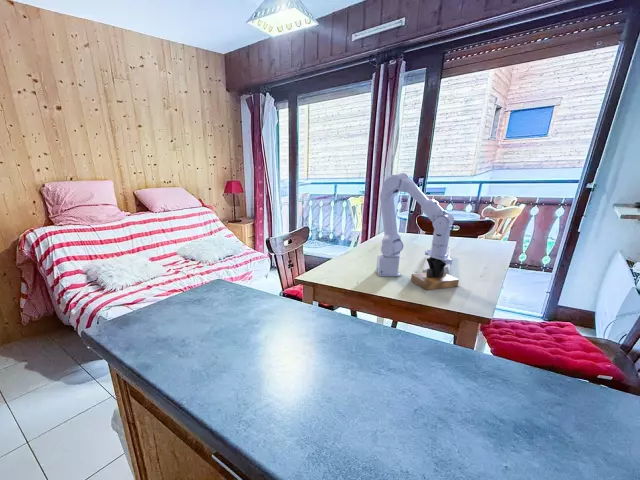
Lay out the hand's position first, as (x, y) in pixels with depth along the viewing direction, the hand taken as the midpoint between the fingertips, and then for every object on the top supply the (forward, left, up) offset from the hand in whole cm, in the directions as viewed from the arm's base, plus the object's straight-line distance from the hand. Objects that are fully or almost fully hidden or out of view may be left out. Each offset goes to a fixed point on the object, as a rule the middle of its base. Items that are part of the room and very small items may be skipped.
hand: (434, 275), depth 137 cm
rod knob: (0, 0, 0) cm, 0 cm away
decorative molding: (+10, +25, -4) cm, 27 cm away
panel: (0, 0, -3) cm, 3 cm away
